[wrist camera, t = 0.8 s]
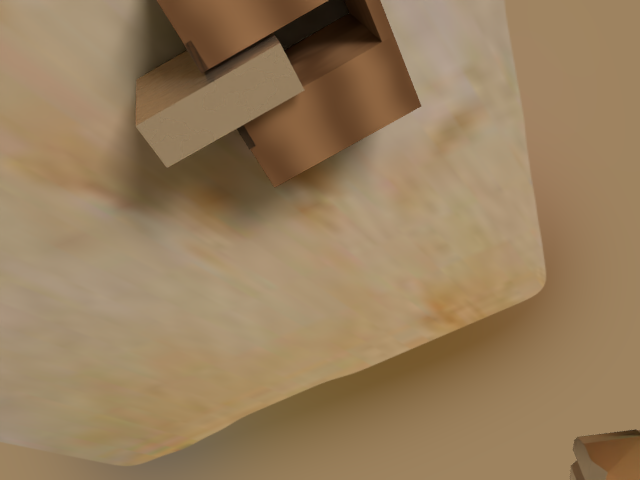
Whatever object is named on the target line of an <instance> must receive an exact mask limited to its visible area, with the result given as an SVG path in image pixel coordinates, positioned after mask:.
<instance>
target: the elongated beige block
mask: <svg viewBox="0 0 640 480" xmlns="http://www.w3.org/2000/svg"><path fill="white" fill-rule="evenodd" d="M302 91H304V88H303V86H302V84H301V82H300V80H299V78H298V77H297V75H296V73H295V71H294V69H293V67H292V65H291V63H290V61H289V59H288V57H287V55H286V53H285V52H284V50H283V48H282V46H281V44H280V42H279V41H278V39H277V38H276V36H275V34H274V33H271V34H269V35H267V36H266V37H264V38H262V39H261V40H259V41H257V42H255V43H254V44H252V45H250V46H248V47H247V48H245V49H243V50H241V51H240V52H238V53H236V54H234V55H233V56H231V57H229V58H227V59H226V60H224V61H222V62H221V63H219V64H217V65H215V66H214V67H212V68H210V69H208V70H207V71H205V72H203V73H201V71H200V70H199V68H198V67H197V65H196V63H195V62H194V60H193V59H192V57H191V56H190V54H189V52H188V51H185V52H183V53H182V54H180V55H178V56H176V57H175V58H173V59H171V60H170V61H168V62H166V63H164V64H163V65H161V66H159V67H157V68H156V69H154V70H152V71H151V72H149V73H147V74H145V75H144V76H142V77H140V78H139V79H137V80H136V122H135V126H136V128H137V129H138V130H139V132H140V133H141V134H142V136H143V137H144V138H145V139H146V141H147V142H148V143H149V145H150V146H151V147H152V149H153V150H154V151H155V153H156V154H157V155H158V157H159V158H160V159H161V161H162V162H163V163H164V165H165V166H166V167H167V168H168V167H170V166H171V165H173V164H175V163H177V162H179V161H180V160H182V159H184V158H186V157H187V156H189V155H191V154H193V153H194V152H196V151H198V150H200V149H202V148H203V147H205V146H207V145H209V144H210V143H212V142H214V141H216V140H217V139H219V138H221V137H223V136H225V135H226V134H228V133H230V132H232V131H233V130H235V129H237V128H239V127H240V126H242V125H244V124H246V123H248V122H249V121H251V120H253V119H255V118H256V117H258V116H260V115H262V114H263V113H265V112H267V111H269V110H271V109H272V108H274V107H276V106H278V105H279V104H281V103H283V102H285V101H286V100H288V99H290V98H292V97H294V96H295V95H297V94H299V93H301V92H302Z"/></svg>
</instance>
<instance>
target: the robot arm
mask: <svg viewBox="0 0 640 480" xmlns="http://www.w3.org/2000/svg"><path fill="white" fill-rule="evenodd" d="M573 451H574V454H575V456H576V459H577V461H576V462H575V463H573V464H572V465H571V470H570V480H640V430H628V431H620V432H613V433H604V434H597V435H588V436H580V437H577V438H576V439H575V440H574V446H573Z"/></svg>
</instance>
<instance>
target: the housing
mask: <svg viewBox="0 0 640 480" xmlns="http://www.w3.org/2000/svg"><path fill="white" fill-rule="evenodd" d="M327 1H328V0H157V2H158V4H159V5H160V7H161V8H162V10H163V11H164V13H165V15H166V16H167V18H168V19H169V21H170V23H171V24H172V26H173V27H174V29H175V30H176V32H177V34H178V35H179V37H180V38H181V40H182V42H183V44H184V46H185V48H186V49H187V51H188V52H189V54H190V56H191V57H192V59H193V60H194V62H195V63H196V65H197V67H198V68H199V70H200V71H201V73H203V72H205V71H207V70H208V69H210V68H212V67H214V66H215V65H217V64H219V63H221V62H222V61H224V60H226V59H227V58H229V57H231V56H233V55H234V54H236V53H238V52H240V51H241V50H243V49H245V48H247V47H248V46H250V45H252V44H254V43H255V42H257V41H259V40H261V39H262V38H264V37H266V36H267V35H269V34H271V33H273V32H274V31H276V30H278V29H280V28H281V27H283V26H285V25H287V24H288V23H290V22H292V21H294V20H295V19H297V18H299V17H300V16H302V15H304V14H306V13H307V12H309V11H311V10H313V9H314V8H316V7H318V6H320V5H321V4H323V3H325V2H327ZM344 1H345V3H346V6H347V8H348V10H349V14H347V15H346V16H344V17H342V18H340V19H339V20H337V21H335V22H333V23H332V24H330V25H328V26H326V27H325V28H323V29H321V30H319V31H318V32H316V33H314V34H312V35H311V36H309V37H307V38H305V39H304V40H302V41H300V42H298V43H297V44H295V45H293V46H291V47H290V48H288V49H286V50H284V52H285V53H286V55H287V57H288V59H289V61H290V63H291V65H292V67H293V69H294V71H295V73H296V75H297V77H298V78H299V80H300V82H301V84H302V86H303V88H304V91H302V92H301V93H299V94H297V95H295V96H294V97H292V98H290V99H288V100H286V101H285V102H283V103H281V104H279V105H278V106H276V107H274V108H272V109H271V110H269V111H267V112H265V113H263V114H262V115H260V116H258V117H256V118H255V119H253V120H251V121H249V122H248V123H246V124H244V125H242V126H240V127H239V128H237V130H238V132H239V133H240V135H241V136H242V138H243V140H244V141H245V143H246V144H247V146H248V147H249V149H251V151H252V153H253V154H254V156H255V157H256V159H257V161H258V162H259V164H260V165H261V167H262V169H263V170H264V172H265V173H266V175H267V176H268V178H269V180H270V181H271V183H272V184H273V186H274V188H275V187H277V186H278V185H280V184H282V183H284V182H286V181H287V180H289V179H291V178H293V177H295V176H296V175H298V174H300V173H302V172H304V171H305V170H307V169H309V168H311V167H313V166H314V165H316V164H318V163H320V162H322V161H323V160H325V159H327V158H329V157H331V156H332V155H334V154H336V153H338V152H340V151H341V150H343V149H345V148H347V147H349V146H350V145H352V144H354V143H356V142H358V141H359V140H361V139H363V138H365V137H367V136H368V135H370V134H372V133H374V132H376V131H377V130H379V129H381V128H383V127H385V126H386V125H388V124H390V123H392V122H394V121H395V120H397V119H399V118H401V117H403V116H405V115H406V114H408V113H410V112H412V111H414V110H415V109H417V108H419V107H421V104H420V102H419V99H418V96H417V94H416V91H415V89H414V86H413V84H412V81H411V78H410V76H409V73H408V71H407V68H406V66H405V63H404V60H403V58H402V55H401V53H400V50H399V48H398V45H397V42H396V40H395V37H394V35H393V32H392V30H391V27H390V25H389V22H388V19H387V17H386V14H385V12H384V9H383V7H382V4H381V1H380V0H344Z"/></svg>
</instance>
